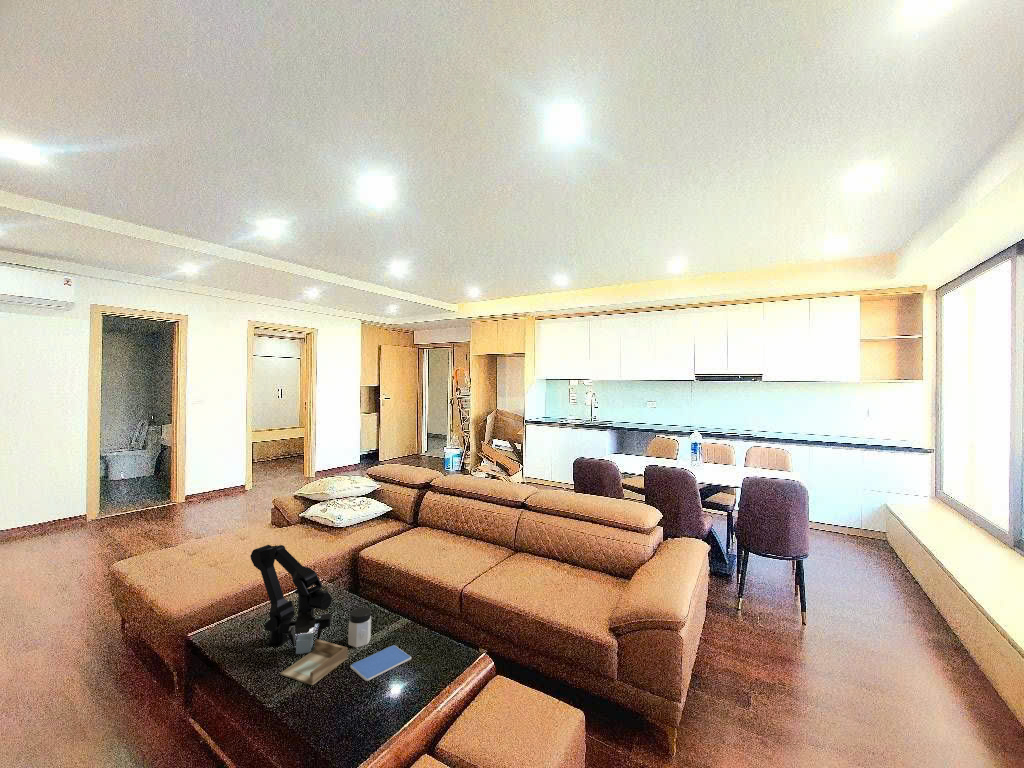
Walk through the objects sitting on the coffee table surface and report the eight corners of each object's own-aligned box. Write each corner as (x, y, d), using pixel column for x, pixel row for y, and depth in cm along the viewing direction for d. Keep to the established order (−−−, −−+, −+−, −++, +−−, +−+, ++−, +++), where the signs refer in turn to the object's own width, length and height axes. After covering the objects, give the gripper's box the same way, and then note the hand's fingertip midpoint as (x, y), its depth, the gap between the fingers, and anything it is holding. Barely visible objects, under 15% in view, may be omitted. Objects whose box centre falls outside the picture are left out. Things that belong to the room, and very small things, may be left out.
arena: (280, 674, 157) (280, 663, 157) (317, 649, 173) (317, 639, 173) (312, 685, 152) (312, 673, 152) (347, 658, 168) (347, 647, 168)
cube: (295, 654, 170) (296, 641, 170) (298, 647, 175) (299, 634, 175) (309, 652, 171) (310, 639, 171) (312, 645, 176) (312, 633, 176)
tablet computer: (394, 647, 177) (394, 643, 177) (412, 660, 169) (412, 656, 169) (349, 668, 163) (349, 664, 163) (366, 683, 154) (366, 680, 154)
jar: (350, 650, 173) (351, 619, 174) (345, 640, 180) (346, 610, 181) (373, 643, 178) (374, 613, 179) (367, 634, 185) (368, 605, 185)
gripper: (274, 618, 163) (274, 660, 163) (328, 612, 168) (327, 652, 168) (282, 604, 174) (281, 643, 174) (332, 598, 179) (332, 637, 179)
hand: (305, 644), depth 173 cm, fingers open, 8 cm apart
